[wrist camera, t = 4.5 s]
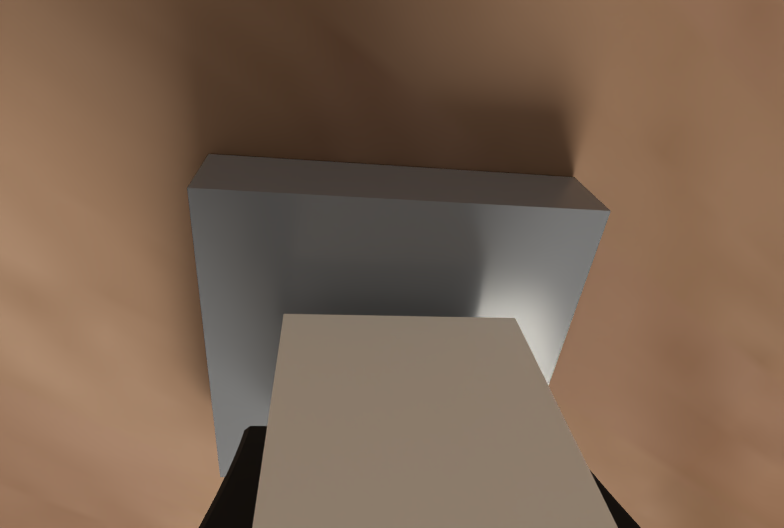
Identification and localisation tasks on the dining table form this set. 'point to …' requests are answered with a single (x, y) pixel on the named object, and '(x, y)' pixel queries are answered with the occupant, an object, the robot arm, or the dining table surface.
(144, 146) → the dining table surface
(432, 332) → the ivory cube
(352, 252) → the slate stand
